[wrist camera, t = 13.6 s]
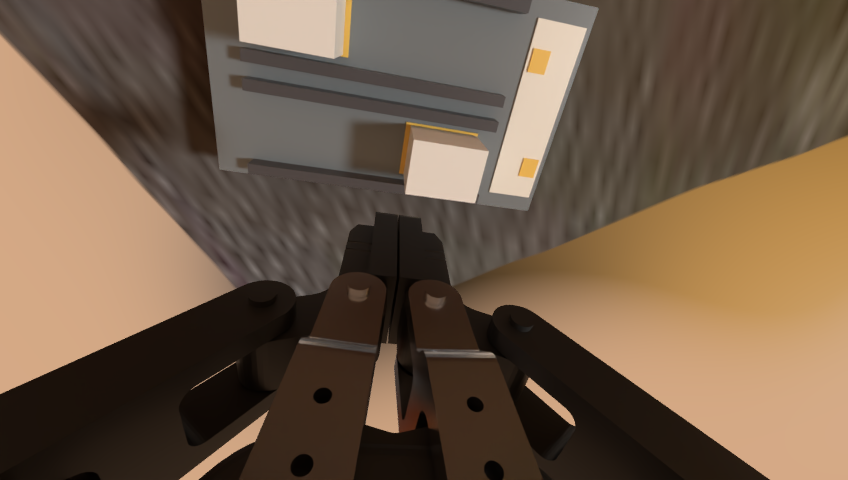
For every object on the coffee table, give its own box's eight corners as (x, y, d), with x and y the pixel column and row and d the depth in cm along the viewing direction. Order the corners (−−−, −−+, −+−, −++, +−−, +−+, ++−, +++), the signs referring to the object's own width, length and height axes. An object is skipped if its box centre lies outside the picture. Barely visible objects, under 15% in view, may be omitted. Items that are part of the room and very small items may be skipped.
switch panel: (573, 11, 22) (608, 6, 18) (514, 193, 27) (532, 217, 24) (219, -71, 18) (180, -95, 15) (237, 154, 24) (212, 175, 21)
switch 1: (346, -14, 17) (338, -23, 15) (342, 54, 19) (334, 59, 16) (260, -33, 17) (233, -46, 14) (263, 39, 18) (239, 41, 15)
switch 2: (476, 135, 22) (489, 151, 19) (464, 182, 23) (475, 203, 20) (410, 125, 21) (413, 139, 18) (403, 173, 22) (405, 194, 20)
